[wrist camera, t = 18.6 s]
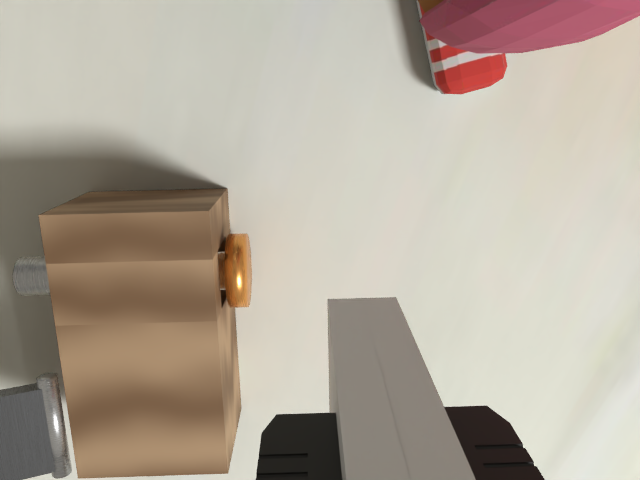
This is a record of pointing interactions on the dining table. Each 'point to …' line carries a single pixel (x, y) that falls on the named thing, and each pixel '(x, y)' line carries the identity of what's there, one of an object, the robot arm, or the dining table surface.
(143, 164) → the dining table surface
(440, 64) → the toy
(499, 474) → the robot arm
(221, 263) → the pin
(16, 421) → the silver flat rectangular plate
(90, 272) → the block
